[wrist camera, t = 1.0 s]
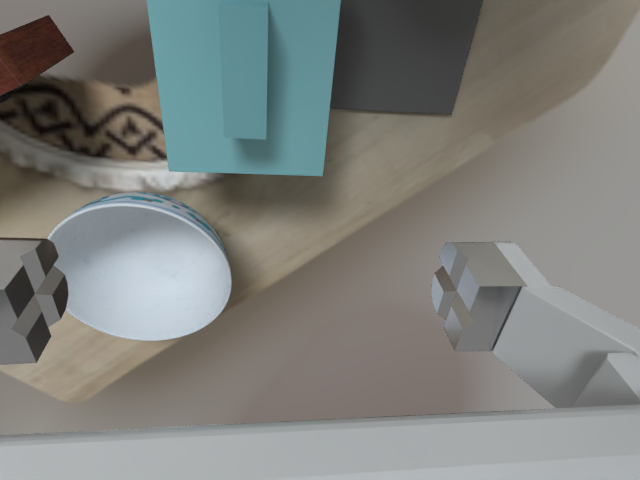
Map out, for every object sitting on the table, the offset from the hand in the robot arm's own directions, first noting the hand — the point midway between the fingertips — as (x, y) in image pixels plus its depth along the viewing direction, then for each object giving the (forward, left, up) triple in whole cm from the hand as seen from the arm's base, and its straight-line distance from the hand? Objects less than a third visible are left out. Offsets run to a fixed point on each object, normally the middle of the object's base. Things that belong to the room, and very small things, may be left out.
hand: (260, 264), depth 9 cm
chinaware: (+19, -10, -29) cm, 36 cm away
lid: (+1, -1, -23) cm, 23 cm away
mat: (0, +11, -29) cm, 31 cm away
